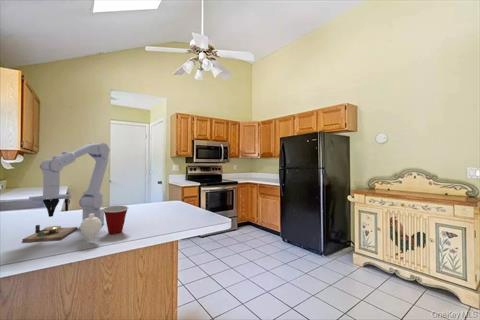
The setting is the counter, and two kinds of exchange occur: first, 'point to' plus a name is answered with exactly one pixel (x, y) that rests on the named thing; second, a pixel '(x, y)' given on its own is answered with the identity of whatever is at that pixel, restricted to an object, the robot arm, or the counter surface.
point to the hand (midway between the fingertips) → (50, 216)
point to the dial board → (50, 235)
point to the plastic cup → (115, 218)
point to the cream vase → (91, 227)
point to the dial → (37, 228)
